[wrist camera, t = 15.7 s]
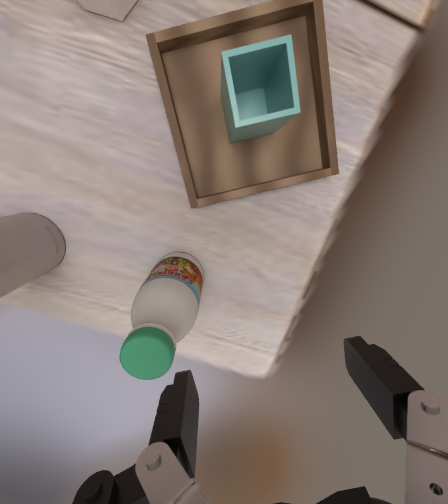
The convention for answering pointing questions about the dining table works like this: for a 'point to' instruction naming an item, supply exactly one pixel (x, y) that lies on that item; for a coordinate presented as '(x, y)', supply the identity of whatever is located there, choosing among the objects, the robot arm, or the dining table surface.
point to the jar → (109, 7)
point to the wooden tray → (211, 109)
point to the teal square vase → (259, 88)
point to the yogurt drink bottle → (162, 315)
